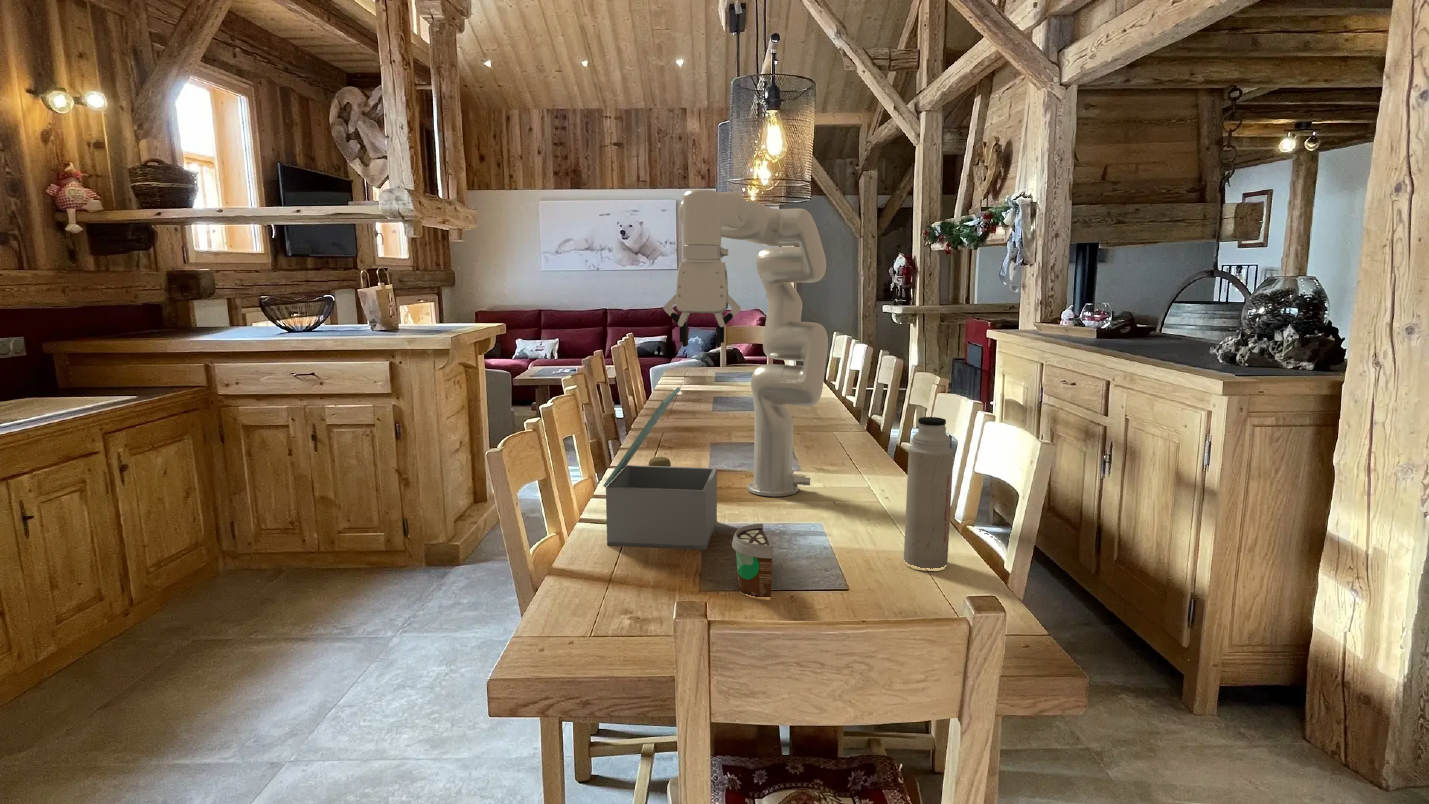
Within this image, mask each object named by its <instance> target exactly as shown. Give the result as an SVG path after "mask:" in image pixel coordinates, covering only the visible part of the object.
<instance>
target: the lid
mask: <svg viewBox="0 0 1429 804" xmlns="http://www.w3.org/2000/svg"><path fill="white" fill-rule="evenodd" d="M680 390H681V388H680V387H679V386H677V387H676V388H675V389H674V390H673V391H672V392H671V393H670V394H669V395H667V397H666V398H664V399H663V400H662V401H661V402H660V404H659V405H658V407H657V408H656V410H655V411H654V413H652V415H651V417H650V419H649V420H648V421H647V423H646V424H645V425H644V427H643V428H642V429H641V431H640V432H639V434H638V435H637V436H636V438H635V439H634V441H633V443H632V444H631V445H630V447H629V448H628V450H627V451H626V453H625V454H624V455H623V456H622V458H621V459H620V461H619V462H618V463H617V465H616V467H615V468H614V470H613V471H612V473H611V474H610V475H609V477H608V478H607V480H606V481H605V482H604V484H603V485H602V486H603V487H604V488H605V489H606V487H607V486H608V485H609V484H610V483H611V482H612V481H613V479H614V478H615V477H616V476H617V475H618V474H619V473H620V472H621V471H622V470H623V469H624V468H625V467H626V466H627V465H628V464H629V463H630V461H631V459H632V458H633V457H634V455H635V454H636V452H637V451H638V449H639V448H640V447H641V446H642V445H643V443H644V441H645V440H646V439H647V437H648V436H649V435H650V433H651V431H652V430H653V428H654V427H655V425H656V424H657V423H658V421H659V420H660V418H661V417H662V416H663V414H664V413H665V412H666V410H667V408H668V407H669V406H670V405H671V403H672V402H673V400H674V398H675V397H676V396H677V394H678V393H679V392H680Z"/></svg>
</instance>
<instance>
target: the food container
mask: <svg viewBox="0 0 1429 804" xmlns="http://www.w3.org/2000/svg"><path fill="white" fill-rule="evenodd" d="M731 547H732V549H733V550H734V551H735V555H736V557H735V558H736V568H737V569H736V572H737V573H736V574H737V587H738V588H739V589H738V591H741V592H742V593H744V594H748V595H751V596H755V597H771V598H772V584H773V583H772V581H773V559H774V546H773V545H771V544H770V543H769V540H768V537H767V535H766V534H765V532H764V523H752V524H747V525H744V526H742V527H738V528H737V530H736V531H735V533H734V534H733V537H732V542H731Z"/></svg>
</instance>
